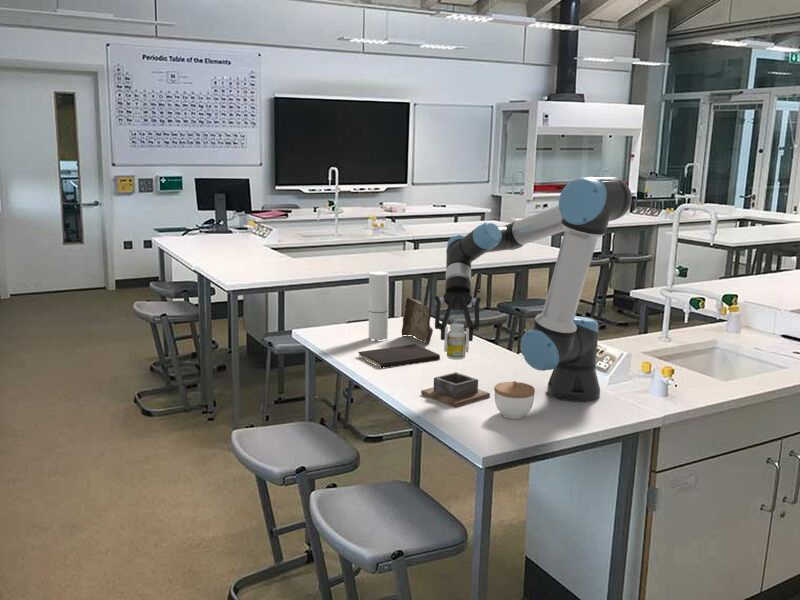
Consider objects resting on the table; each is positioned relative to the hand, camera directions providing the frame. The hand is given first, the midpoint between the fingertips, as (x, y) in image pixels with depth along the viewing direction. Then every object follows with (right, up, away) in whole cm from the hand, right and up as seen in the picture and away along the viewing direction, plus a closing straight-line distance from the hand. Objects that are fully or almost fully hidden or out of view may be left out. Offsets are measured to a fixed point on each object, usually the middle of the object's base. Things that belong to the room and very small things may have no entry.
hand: (456, 349), depth 208 cm
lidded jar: (+15, -17, -9) cm, 24 cm away
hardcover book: (-16, -7, +45) cm, 48 cm away
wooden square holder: (0, -14, +6) cm, 15 cm away
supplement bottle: (0, -3, +4) cm, 5 cm away
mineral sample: (-9, -2, +68) cm, 69 cm away
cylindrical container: (-24, -1, +70) cm, 74 cm away
